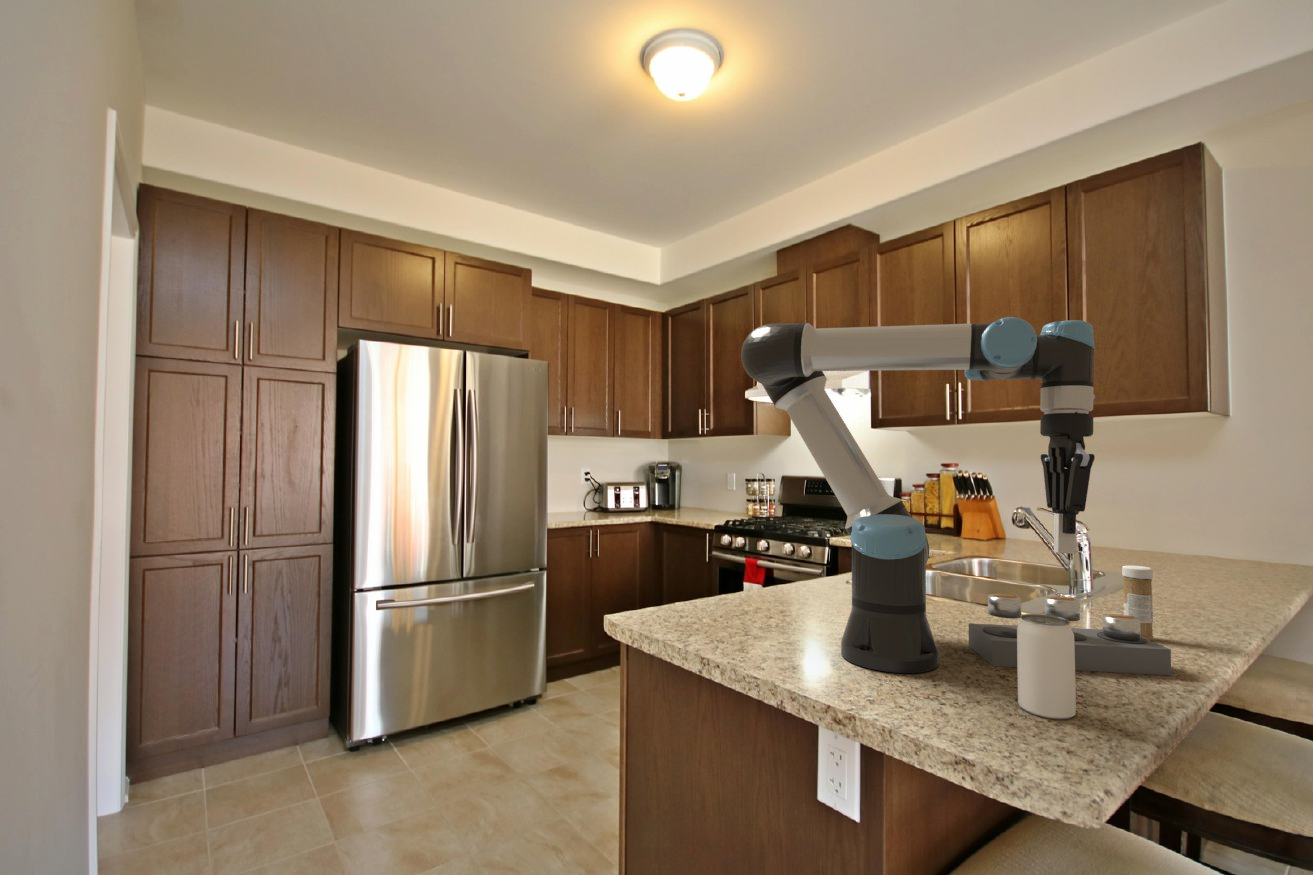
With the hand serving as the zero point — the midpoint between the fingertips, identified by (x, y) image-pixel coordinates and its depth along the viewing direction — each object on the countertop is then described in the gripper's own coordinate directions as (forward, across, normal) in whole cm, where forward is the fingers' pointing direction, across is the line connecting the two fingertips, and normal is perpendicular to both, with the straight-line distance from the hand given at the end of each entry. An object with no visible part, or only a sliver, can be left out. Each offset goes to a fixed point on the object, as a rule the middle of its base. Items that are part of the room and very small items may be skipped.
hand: (1064, 552), depth 104 cm
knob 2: (+13, 0, -9) cm, 16 cm away
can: (+18, -24, +14) cm, 33 cm away
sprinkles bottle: (+18, +16, -21) cm, 32 cm away
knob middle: (+11, 0, 0) cm, 11 cm away
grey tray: (+18, 0, 0) cm, 18 cm away
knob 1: (+11, 0, +9) cm, 15 cm away
